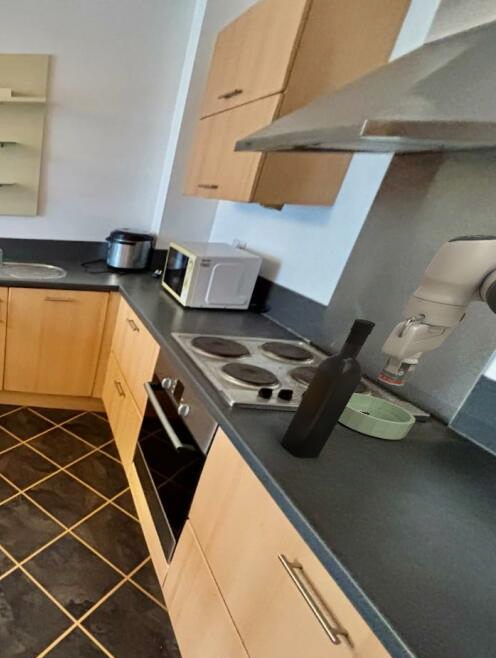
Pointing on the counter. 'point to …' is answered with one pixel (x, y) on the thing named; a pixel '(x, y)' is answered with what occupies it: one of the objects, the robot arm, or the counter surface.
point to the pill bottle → (400, 371)
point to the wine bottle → (327, 395)
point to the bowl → (377, 417)
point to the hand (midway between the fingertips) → (397, 369)
